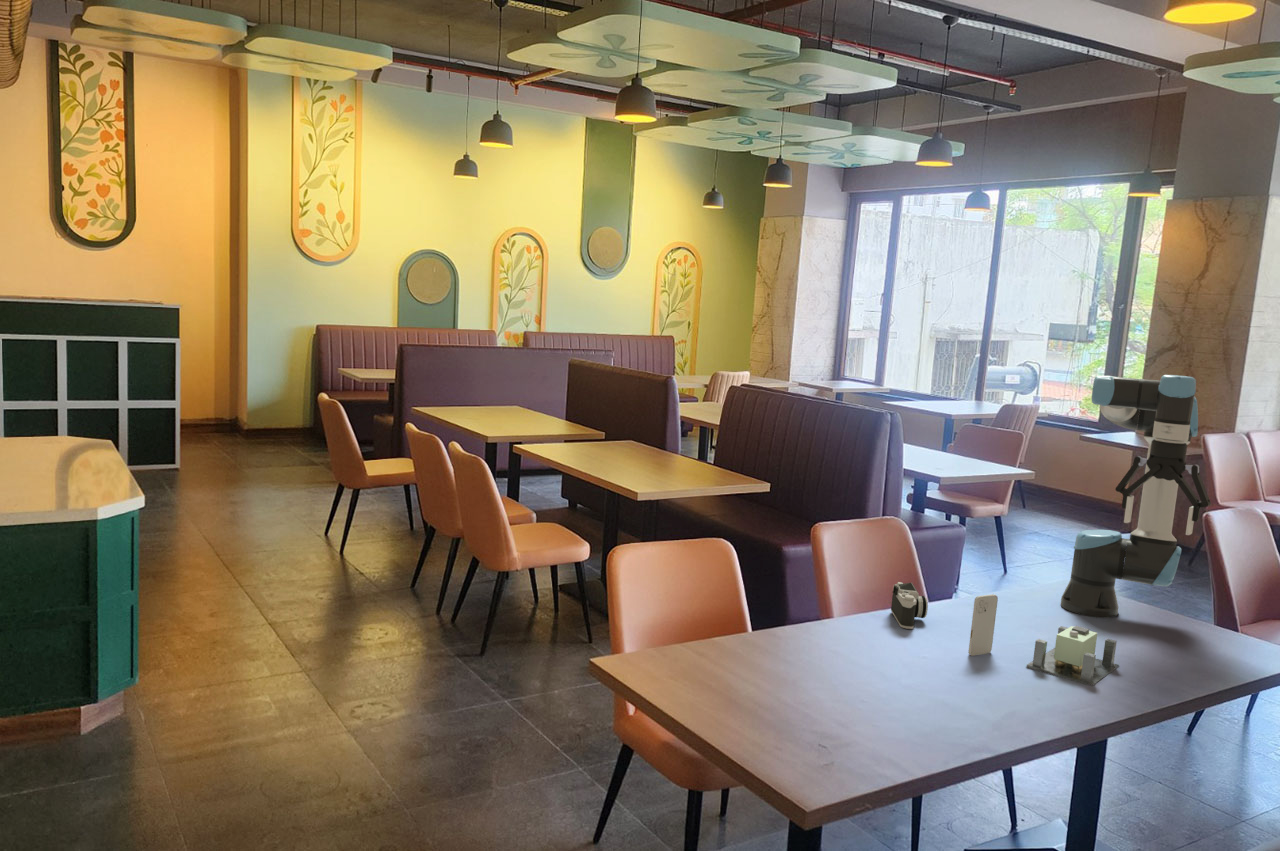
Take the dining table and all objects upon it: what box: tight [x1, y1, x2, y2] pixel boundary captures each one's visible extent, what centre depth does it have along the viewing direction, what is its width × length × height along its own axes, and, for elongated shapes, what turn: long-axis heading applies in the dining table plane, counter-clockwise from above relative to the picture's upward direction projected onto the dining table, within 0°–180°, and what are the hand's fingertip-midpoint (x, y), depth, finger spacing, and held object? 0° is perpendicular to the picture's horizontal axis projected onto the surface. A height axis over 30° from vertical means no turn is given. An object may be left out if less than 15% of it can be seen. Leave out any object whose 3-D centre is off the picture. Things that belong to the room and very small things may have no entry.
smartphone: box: [968, 593, 999, 657], centre depth 239 cm, size 7×1×15 cm, turn 118°
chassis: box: [1026, 625, 1120, 687], centre depth 234 cm, size 19×15×7 cm
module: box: [1054, 625, 1098, 667], centre depth 233 cm, size 10×6×7 cm, turn 137°
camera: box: [890, 581, 929, 630], centre depth 264 cm, size 16×9×10 cm, turn 176°
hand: (1157, 528), depth 235 cm, fingers open, 13 cm apart
